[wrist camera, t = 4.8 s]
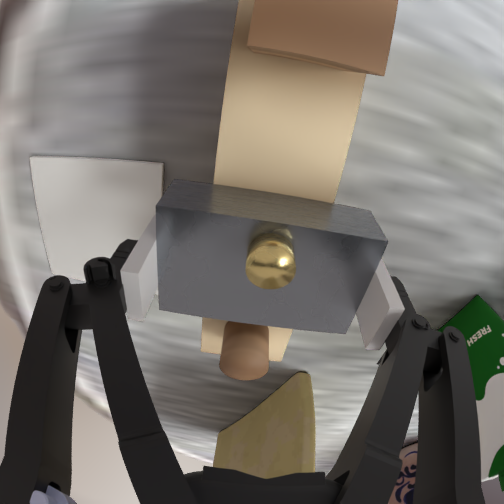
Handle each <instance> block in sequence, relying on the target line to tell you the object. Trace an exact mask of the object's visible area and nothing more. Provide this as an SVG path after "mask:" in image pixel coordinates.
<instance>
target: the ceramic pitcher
mask: <svg viewBox="0 0 504 504" xmlns="http://www.w3.org/2000/svg"><path fill="white" fill-rule="evenodd" d="M417 450H418V443H415V444H412V445H410V446H407V447H405V448H403V449H401V451H400V455H399V458H400V459H401V460H402V462H403V464H402V468H401V471H400V474H399V477H398V479H397V482H396V485H395V487H394V490H393V492H392V495H391V497H390V499H389V502H388V503H389V504H413V494H414V486H415V476H416V464H417Z"/></svg>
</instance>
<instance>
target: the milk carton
mask: <svg viewBox="0 0 504 504" xmlns="http://www.w3.org/2000/svg"><path fill="white" fill-rule="evenodd" d="M448 326H452V327H455V328H457V329H458V330H460V331H461V333H462V334H463V336H464V338H465V342H466V346H467V351H468V356H469V361H470V366H471V372H472V377H473V384H474V390H475V397H476V405H477V413H478V423H479V435H480V451H481V482H482V481H486V480H492V479H494V478H496V477H498V476H499V481H500V485H501V489H502V491H504V321H503V320H502V319H501V318H500V317H499V316H498V315H497V314H496V312H495V311H494V310H493V309H492V308H491V307H490V306H489V305H488V304H487V303H486V302H485V301H484V300H483V299H482V298H481V297H480V296H479V295H477V296H476V297H475V298H474V299H473V300H472V301H471V302H469V303H468V304H467V305H466V306H465V307H464V308H463V309H462V310H461V311H460V312H459V313H458V314H456V315H455V316H454V317H453V318H452V319H451V320H450V321H449V322H447V323H446V324H445V325H444V326H443V327H442V328H440V329H439V330H438V331H439V332H443V330H444V329H445V328H446V327H448Z"/></svg>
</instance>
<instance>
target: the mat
mask: <svg viewBox="0 0 504 504" xmlns="http://www.w3.org/2000/svg"><path fill="white" fill-rule="evenodd" d="M30 166H31V174H32V181H33V188H34V194H35V200H36V206H37V212H38V217H39V222H40V227H41V231H42V236H43V240H44V244H45V249H46V253H47V257H48V260H49V264H50V268H51V272H52V274H55V275H62V276H65V277H68V278H72V279H77V280H82V281H86V280H85V275H84V270H83V268H84V265H85V264H86V262H87V261H89V260H91V259H93V258H96V257H106V258H109V259H110V258H111V257H112V255H113V253H114V252H115V251H116V249H117V247H118V246H119V244H120V243H122V242H123V241H125V240H126V239H132V240H139V239H140V237H141V235H142V234H143V232H144V231H145V229H146V227H147V226H148V224H149V223H150V221H151V220H152V218H153V216H154V215H155V213H156V204H157V203H158V201H159V200H160V199H161V197H162V196H163V170H164V163H158V162H147V161H135V160H122V159H107V158H90V157H66V156H31V157H30ZM155 295H158V288H157V290H156V293H155Z"/></svg>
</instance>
